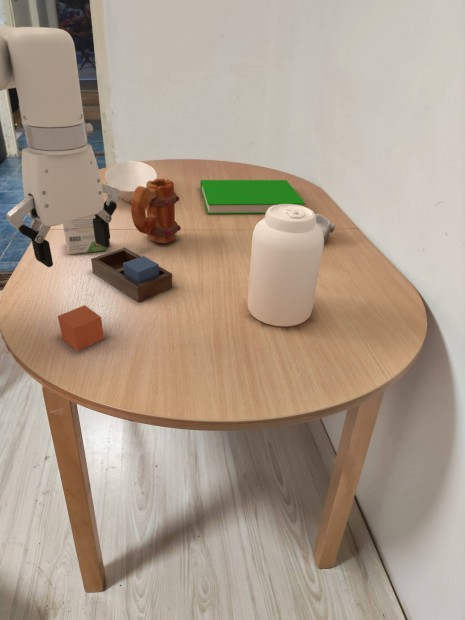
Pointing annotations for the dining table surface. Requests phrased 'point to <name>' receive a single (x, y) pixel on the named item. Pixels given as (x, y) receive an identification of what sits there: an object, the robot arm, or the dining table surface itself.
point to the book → (247, 195)
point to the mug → (156, 210)
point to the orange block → (81, 327)
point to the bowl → (129, 177)
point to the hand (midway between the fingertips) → (75, 253)
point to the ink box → (81, 236)
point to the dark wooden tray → (113, 273)
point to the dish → (324, 225)
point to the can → (284, 265)
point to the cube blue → (141, 269)
